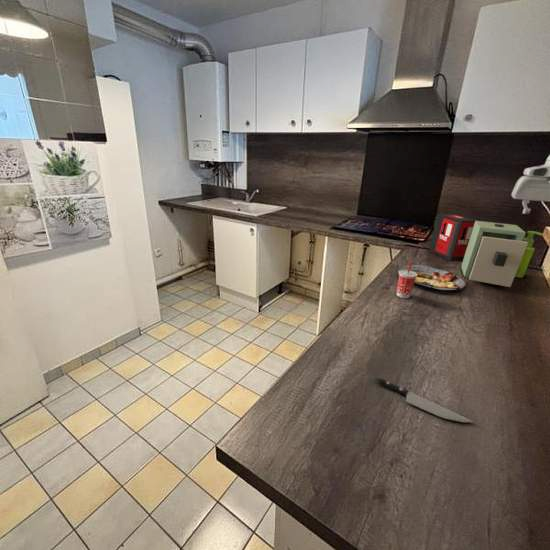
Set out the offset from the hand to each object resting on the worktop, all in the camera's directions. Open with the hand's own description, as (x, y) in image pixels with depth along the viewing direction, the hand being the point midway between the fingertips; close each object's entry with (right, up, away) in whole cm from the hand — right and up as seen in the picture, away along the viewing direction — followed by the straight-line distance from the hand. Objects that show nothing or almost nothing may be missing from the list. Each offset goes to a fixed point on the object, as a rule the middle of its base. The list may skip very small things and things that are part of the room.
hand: (543, 215), depth 96 cm
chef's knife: (-58, -47, -35) cm, 83 cm away
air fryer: (+3, -20, +33) cm, 38 cm away
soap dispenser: (+19, -20, +34) cm, 44 cm away
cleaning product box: (+2, -9, +57) cm, 58 cm away
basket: (-1, -22, +23) cm, 32 cm away
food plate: (-24, -22, +25) cm, 41 cm away
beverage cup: (-41, -27, +12) cm, 51 cm away
